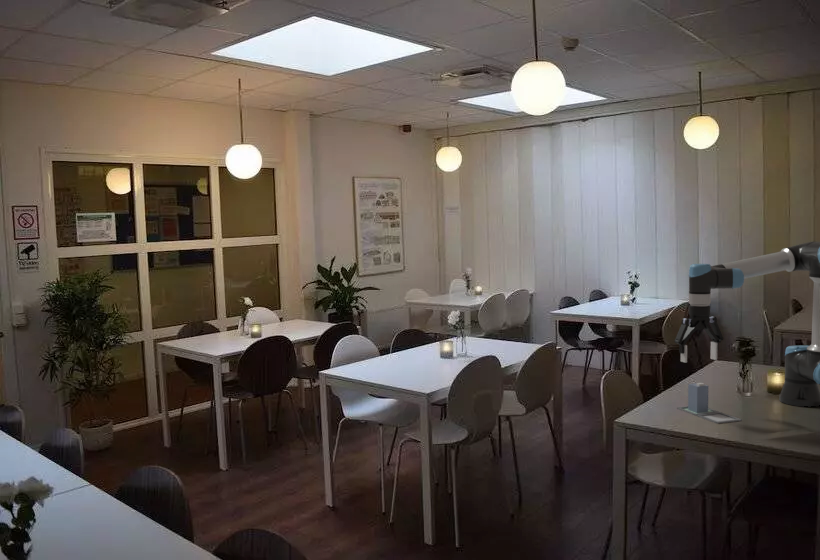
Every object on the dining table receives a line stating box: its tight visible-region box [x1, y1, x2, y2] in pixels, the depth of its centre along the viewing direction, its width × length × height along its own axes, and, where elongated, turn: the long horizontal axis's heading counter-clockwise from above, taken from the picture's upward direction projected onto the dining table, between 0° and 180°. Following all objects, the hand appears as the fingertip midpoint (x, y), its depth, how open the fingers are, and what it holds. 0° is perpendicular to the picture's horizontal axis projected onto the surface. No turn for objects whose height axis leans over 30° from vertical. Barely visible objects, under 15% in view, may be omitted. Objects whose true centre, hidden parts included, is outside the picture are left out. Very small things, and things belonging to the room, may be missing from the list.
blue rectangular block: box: [687, 382, 709, 413], centre depth 260 cm, size 5×5×11 cm
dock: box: [676, 405, 742, 425], centre depth 256 cm, size 16×22×2 cm
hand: (698, 360), depth 259 cm, fingers open, 13 cm apart
